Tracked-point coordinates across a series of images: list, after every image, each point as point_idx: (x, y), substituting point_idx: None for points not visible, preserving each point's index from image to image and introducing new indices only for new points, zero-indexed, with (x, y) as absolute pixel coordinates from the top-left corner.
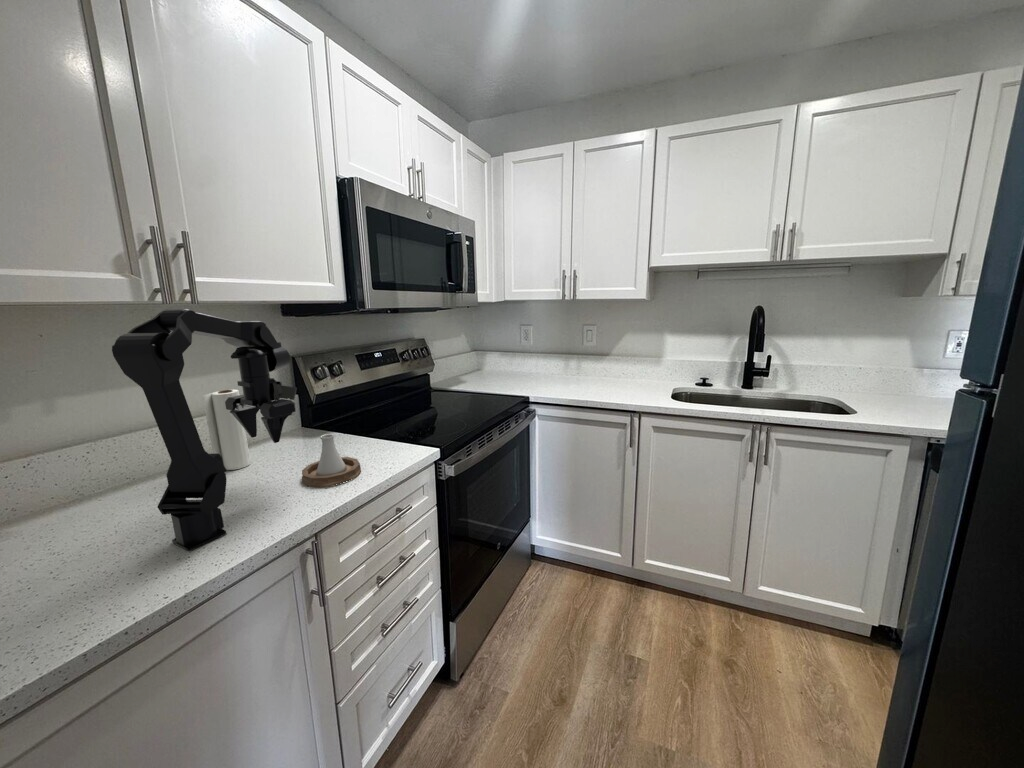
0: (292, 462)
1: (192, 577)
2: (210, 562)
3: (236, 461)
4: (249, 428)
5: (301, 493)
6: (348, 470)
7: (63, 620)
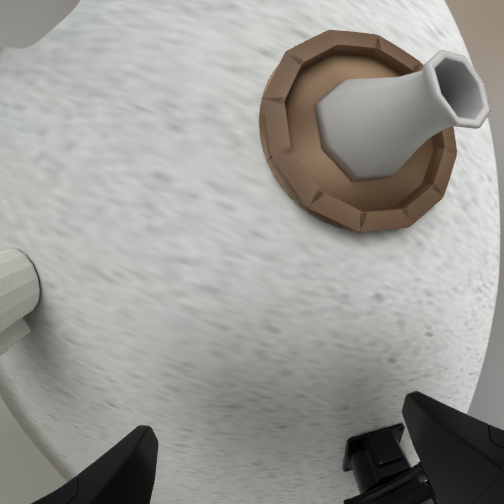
0: (101, 151)
1: None
2: None
3: (25, 302)
4: (143, 495)
5: (398, 268)
6: None
7: None
